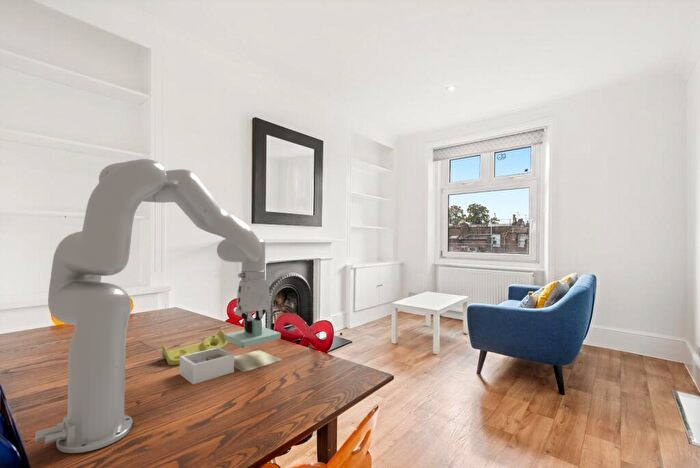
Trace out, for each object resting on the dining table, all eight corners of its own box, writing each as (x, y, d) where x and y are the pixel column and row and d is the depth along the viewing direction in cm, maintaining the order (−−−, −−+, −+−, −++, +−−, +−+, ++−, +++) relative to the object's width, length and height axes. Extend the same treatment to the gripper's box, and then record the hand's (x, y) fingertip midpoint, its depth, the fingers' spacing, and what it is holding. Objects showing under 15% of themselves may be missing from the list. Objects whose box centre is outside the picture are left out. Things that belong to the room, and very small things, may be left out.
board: (243, 374, 102) (243, 371, 102) (222, 362, 111) (222, 359, 111) (282, 362, 112) (282, 359, 112) (259, 352, 121) (259, 349, 121)
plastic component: (170, 362, 105) (162, 341, 112) (169, 380, 108) (160, 359, 114) (232, 344, 119) (221, 327, 125) (229, 360, 121) (219, 342, 128)
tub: (192, 387, 93) (193, 365, 93) (179, 376, 100) (179, 356, 100) (233, 374, 102) (234, 354, 102) (218, 365, 109) (219, 347, 109)
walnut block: (211, 374, 100) (211, 360, 100) (205, 370, 103) (205, 357, 103) (224, 370, 103) (224, 357, 103) (218, 367, 105) (218, 354, 105)
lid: (242, 348, 103) (242, 327, 103) (224, 339, 111) (224, 320, 111) (280, 338, 113) (280, 319, 113) (261, 331, 121) (261, 313, 121)
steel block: (194, 379, 96) (194, 365, 96) (188, 375, 99) (188, 361, 99) (208, 375, 99) (208, 361, 99) (202, 371, 102) (202, 358, 102)
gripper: (236, 279, 104) (235, 339, 103) (280, 274, 115) (279, 328, 115) (224, 276, 109) (224, 334, 109) (268, 273, 120) (267, 324, 120)
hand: (252, 330), depth 112 cm, fingers closed on lid
